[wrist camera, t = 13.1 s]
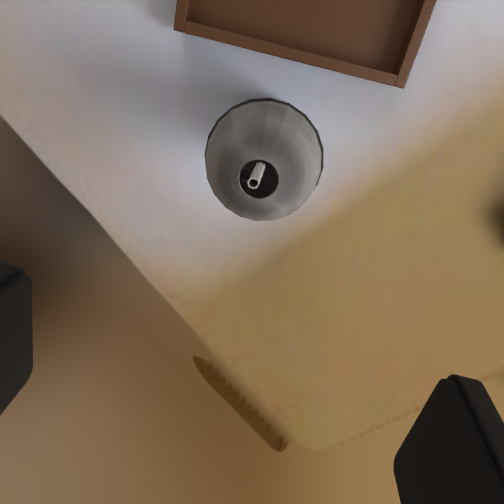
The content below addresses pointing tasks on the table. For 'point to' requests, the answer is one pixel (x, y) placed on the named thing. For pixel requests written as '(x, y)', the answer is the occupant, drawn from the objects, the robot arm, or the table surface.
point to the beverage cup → (263, 159)
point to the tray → (318, 31)
